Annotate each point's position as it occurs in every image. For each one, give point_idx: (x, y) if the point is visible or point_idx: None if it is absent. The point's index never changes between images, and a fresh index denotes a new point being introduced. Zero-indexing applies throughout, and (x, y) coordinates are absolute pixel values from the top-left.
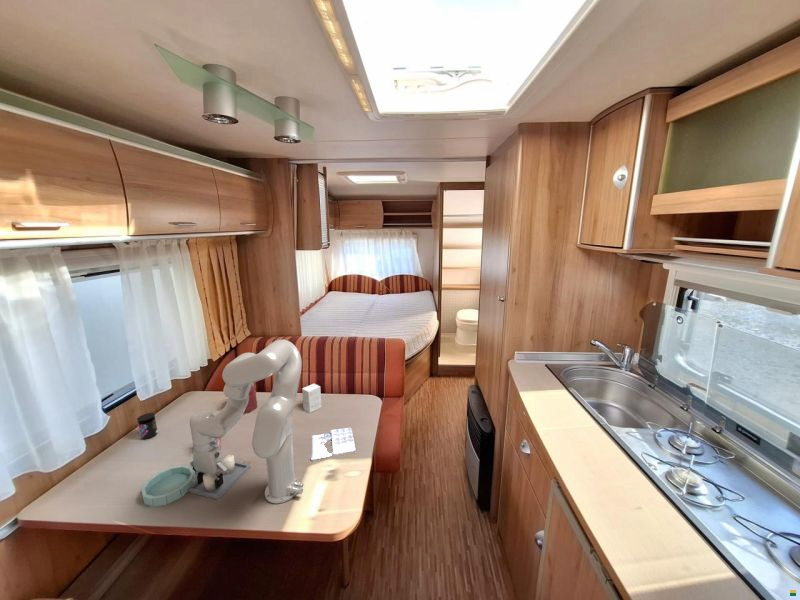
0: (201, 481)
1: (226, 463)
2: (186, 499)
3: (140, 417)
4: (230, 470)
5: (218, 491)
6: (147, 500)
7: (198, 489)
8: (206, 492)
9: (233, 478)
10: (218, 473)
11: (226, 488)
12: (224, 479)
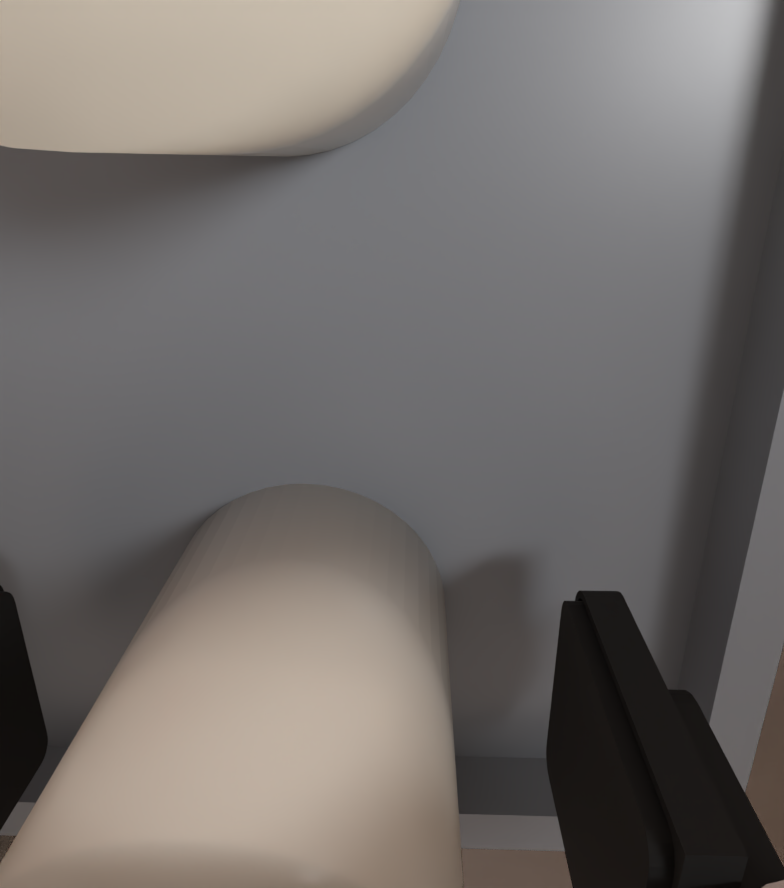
0: (16, 741)
1: (311, 101)
2: None
3: None
4: (434, 45)
5: None
6: None
7: (88, 698)
8: None
9: (652, 220)
10: (42, 172)
11: (775, 645)
12: (418, 327)
